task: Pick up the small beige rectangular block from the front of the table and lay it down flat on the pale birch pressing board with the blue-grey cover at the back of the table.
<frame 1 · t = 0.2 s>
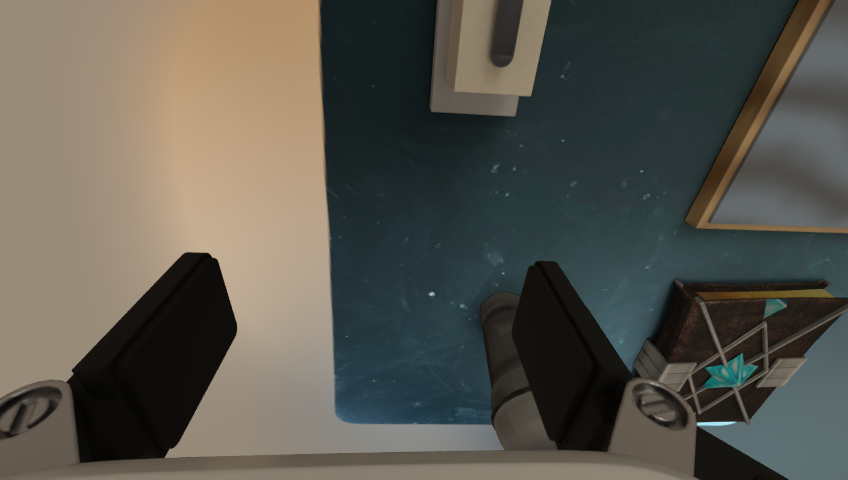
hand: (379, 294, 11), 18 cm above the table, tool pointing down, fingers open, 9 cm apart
beverage cup: (501, 307, 36), on the table
book: (703, 347, 41), on the table
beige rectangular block: (483, 3, 22), on the table
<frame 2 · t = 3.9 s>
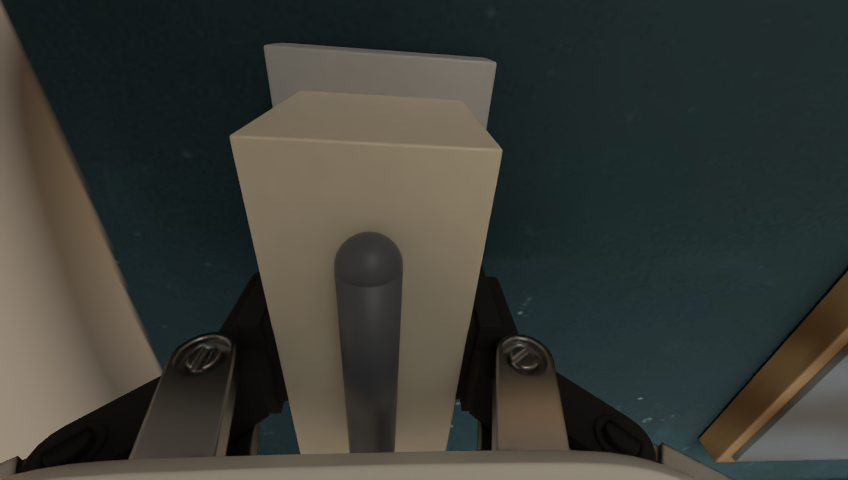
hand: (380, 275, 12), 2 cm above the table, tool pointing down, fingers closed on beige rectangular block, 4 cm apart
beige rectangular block: (383, 238, 14), on the table, touching gripper
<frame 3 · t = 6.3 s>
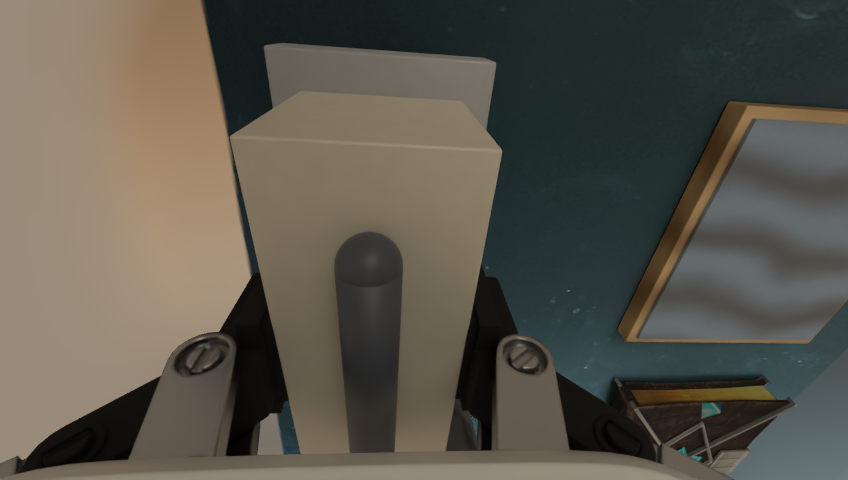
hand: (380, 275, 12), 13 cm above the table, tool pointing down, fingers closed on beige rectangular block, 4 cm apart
board: (767, 240, 28), on the table
beverage cup: (444, 401, 37), on the table
book: (652, 431, 42), on the table
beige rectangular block: (383, 238, 14), point 11 cm above the table, touching gripper
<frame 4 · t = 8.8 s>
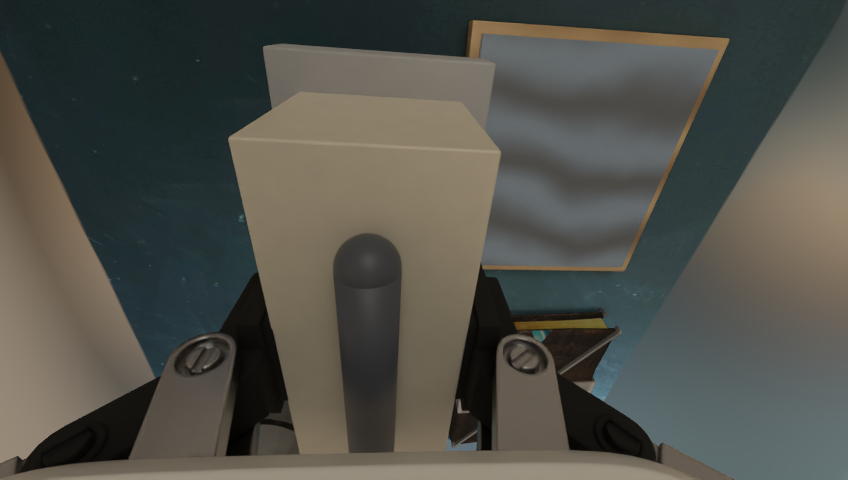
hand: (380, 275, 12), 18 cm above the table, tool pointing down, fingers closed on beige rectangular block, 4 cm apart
board: (557, 166, 30), on the table
beverage cup: (302, 337, 39), on the table
book: (516, 369, 44), on the table
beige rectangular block: (383, 239, 14), point 16 cm above the table, touching gripper
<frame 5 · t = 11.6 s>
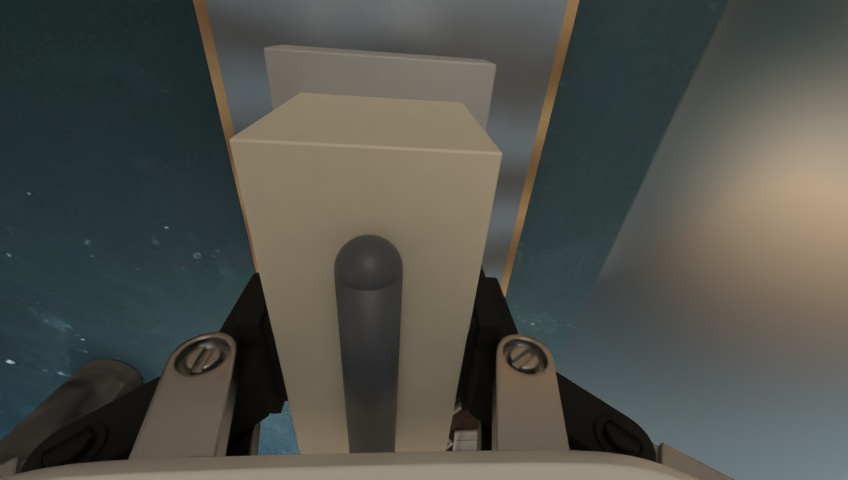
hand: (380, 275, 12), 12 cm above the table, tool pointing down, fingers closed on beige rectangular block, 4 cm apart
board: (389, 158, 22), on the table
beverage cup: (115, 374, 31), on the table
book: (404, 409, 36), on the table
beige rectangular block: (383, 240, 14), point 10 cm above the table, touching gripper
when the fingers open (4 cm above the table, at t = 13.7 s): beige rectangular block stays where it is, resting on board.
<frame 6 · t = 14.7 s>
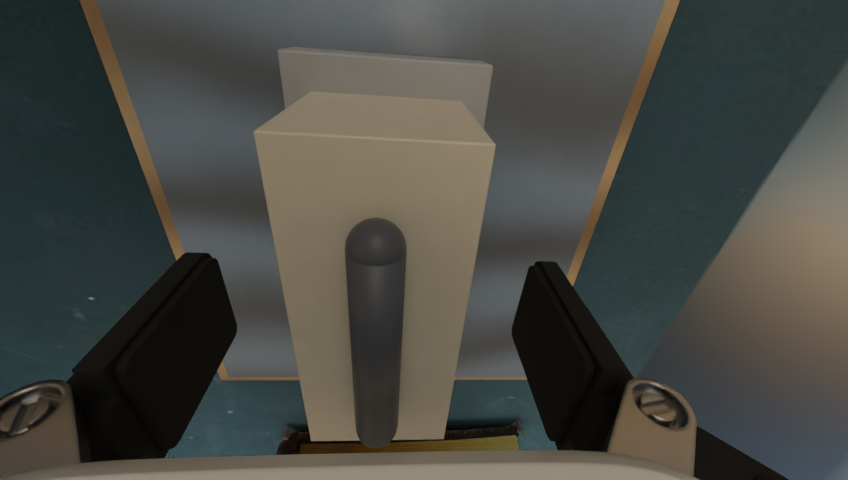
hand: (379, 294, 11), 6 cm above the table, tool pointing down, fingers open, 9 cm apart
board: (388, 211, 16), on the table
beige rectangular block: (387, 232, 14), point 2 cm above the table, touching board
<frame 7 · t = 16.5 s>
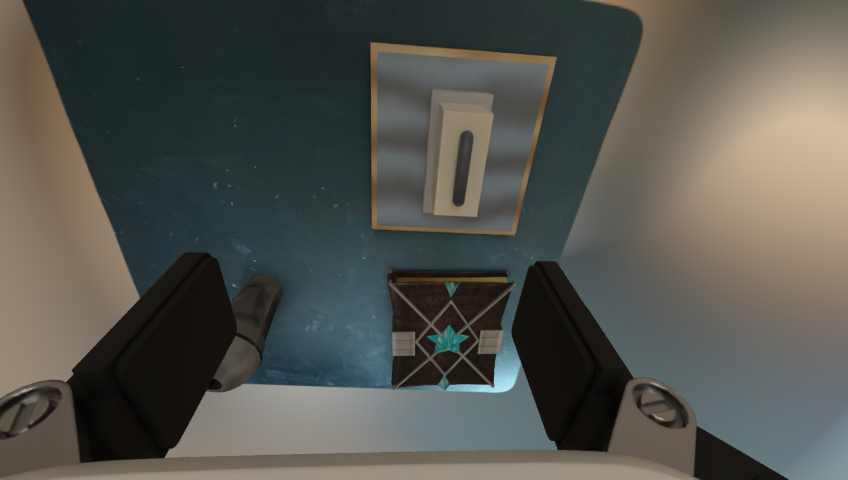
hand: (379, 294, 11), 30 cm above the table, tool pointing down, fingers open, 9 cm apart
board: (452, 149, 39), on the table
beverage cup: (265, 287, 48), on the table
book: (445, 323, 53), on the table
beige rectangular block: (453, 154, 38), point 2 cm above the table, touching board
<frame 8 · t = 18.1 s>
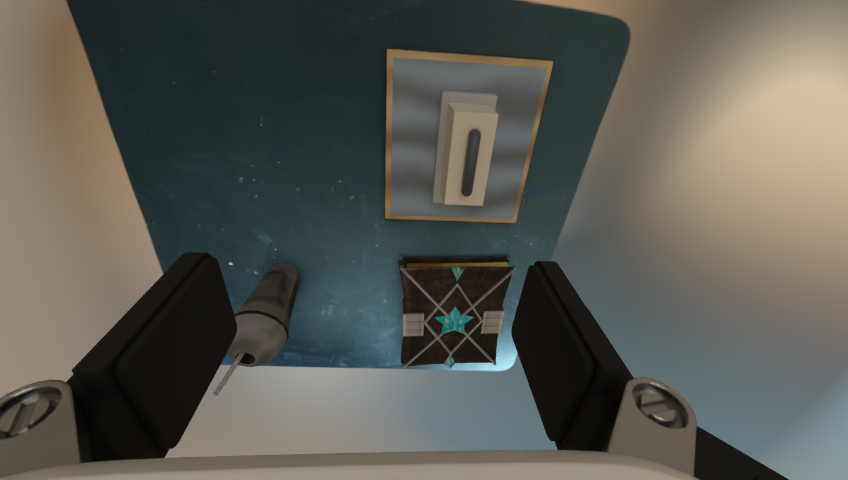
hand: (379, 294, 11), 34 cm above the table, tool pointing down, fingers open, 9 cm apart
board: (458, 145, 43), on the table
beverage cup: (285, 274, 52), on the table
book: (450, 306, 57), on the table
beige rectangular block: (460, 149, 42), point 2 cm above the table, touching board
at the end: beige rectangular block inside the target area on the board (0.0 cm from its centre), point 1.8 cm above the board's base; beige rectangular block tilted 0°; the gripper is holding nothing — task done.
